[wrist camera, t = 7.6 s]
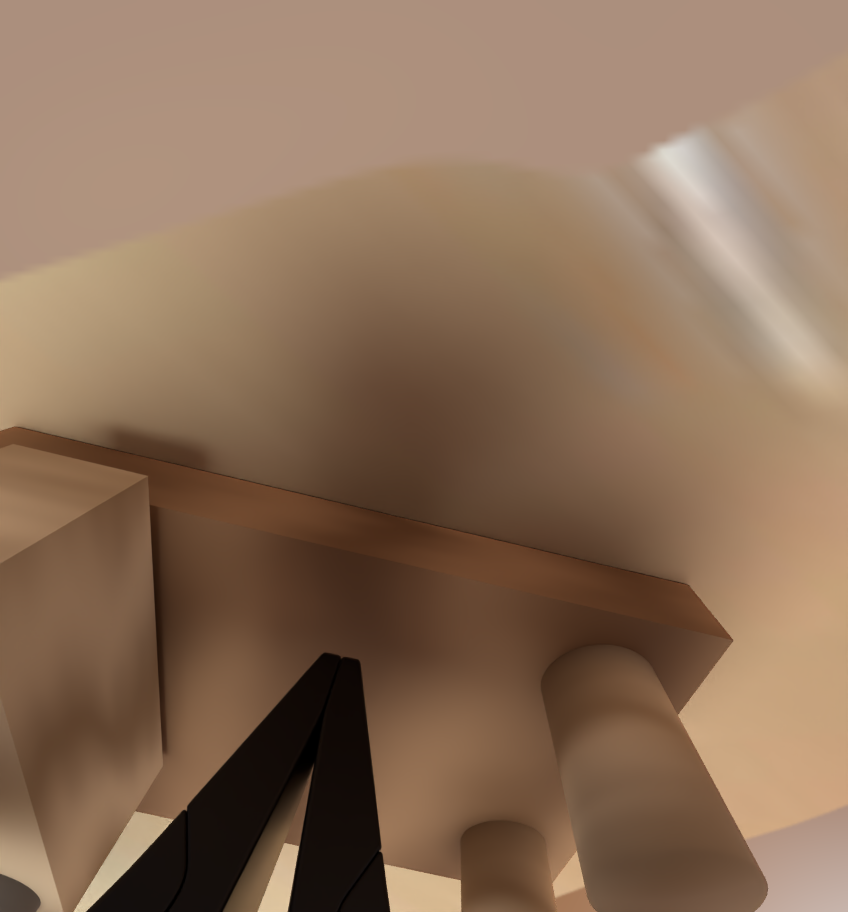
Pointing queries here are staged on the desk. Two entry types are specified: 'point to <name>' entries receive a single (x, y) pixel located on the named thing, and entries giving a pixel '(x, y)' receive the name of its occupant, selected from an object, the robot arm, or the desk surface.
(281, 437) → the desk surface
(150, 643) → the folding leg
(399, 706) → the stool seat
